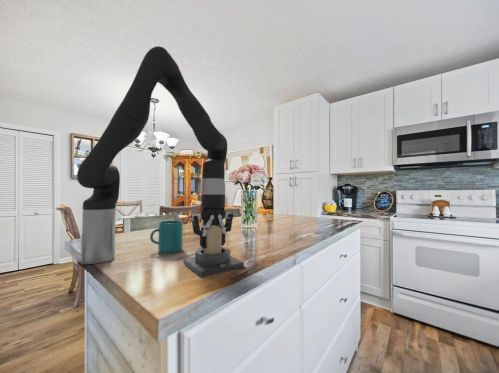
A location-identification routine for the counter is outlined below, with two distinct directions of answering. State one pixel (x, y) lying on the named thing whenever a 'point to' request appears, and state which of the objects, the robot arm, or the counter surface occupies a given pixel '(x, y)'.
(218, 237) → the candle
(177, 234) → the cup
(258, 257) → the counter surface
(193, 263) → the mount
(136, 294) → the counter surface
